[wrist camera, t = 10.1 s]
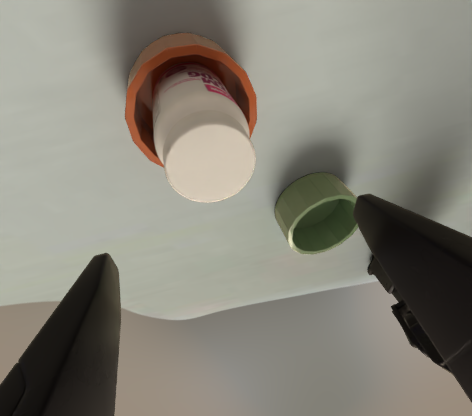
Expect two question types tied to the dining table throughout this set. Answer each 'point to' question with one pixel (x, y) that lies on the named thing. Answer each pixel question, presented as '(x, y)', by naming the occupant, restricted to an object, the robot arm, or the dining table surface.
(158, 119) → the pill bottle
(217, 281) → the dining table surface
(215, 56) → the terracotta cup
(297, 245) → the green cup
